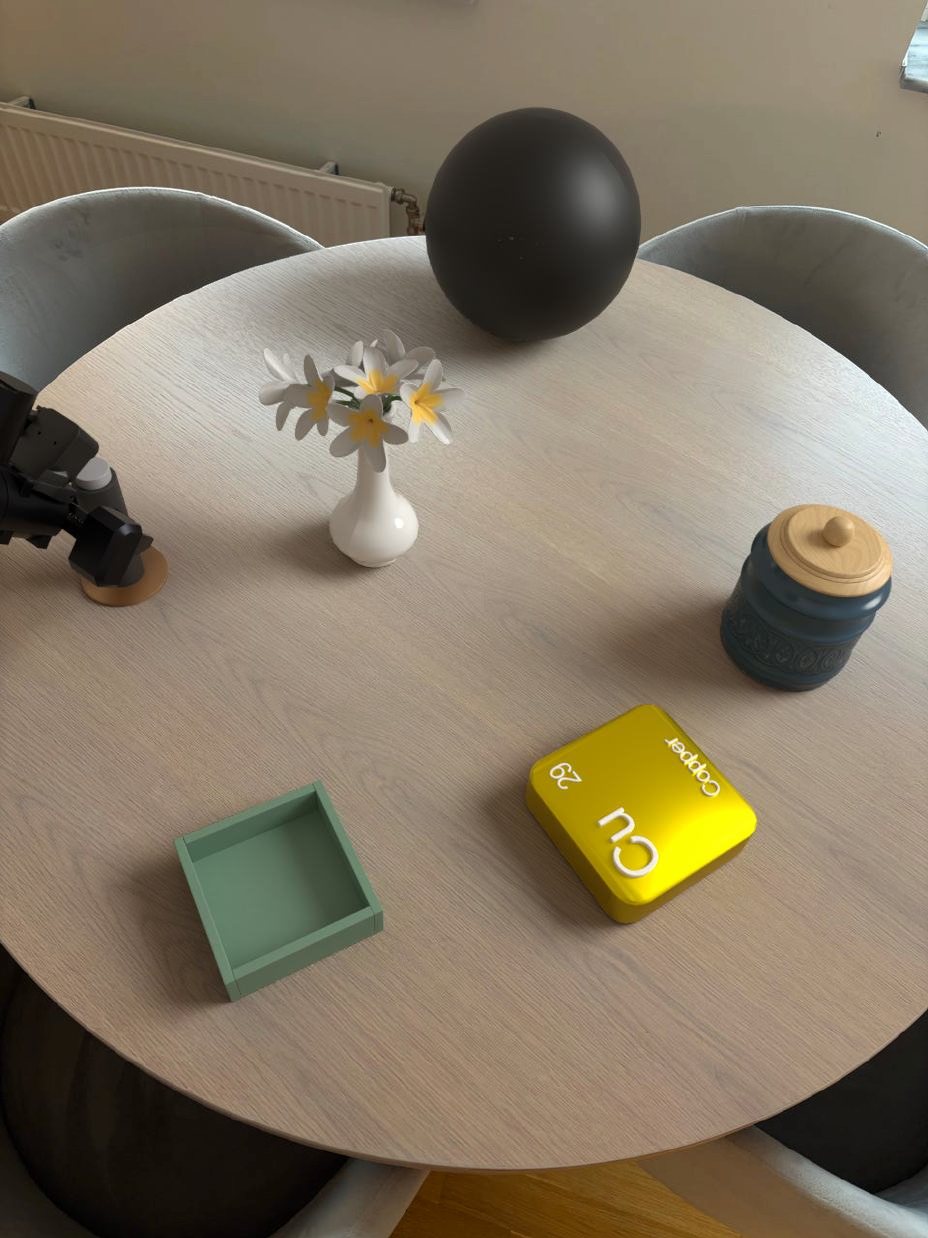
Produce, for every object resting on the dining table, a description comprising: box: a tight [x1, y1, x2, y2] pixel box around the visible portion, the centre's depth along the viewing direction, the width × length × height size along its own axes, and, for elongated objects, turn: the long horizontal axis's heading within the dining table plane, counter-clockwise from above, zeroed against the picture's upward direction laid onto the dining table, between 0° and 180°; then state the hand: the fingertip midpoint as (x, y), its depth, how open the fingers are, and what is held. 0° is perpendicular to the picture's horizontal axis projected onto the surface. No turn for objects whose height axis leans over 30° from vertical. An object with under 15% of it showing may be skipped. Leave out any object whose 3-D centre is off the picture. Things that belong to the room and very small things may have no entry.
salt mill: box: [70, 456, 145, 587], centre depth 91 cm, size 4×4×14 cm
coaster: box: [80, 545, 169, 608], centre depth 97 cm, size 8×8×1 cm
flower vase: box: [257, 328, 467, 569], centre depth 92 cm, size 13×18×25 cm
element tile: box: [524, 703, 758, 925], centre depth 82 cm, size 15×15×5 cm
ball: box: [424, 106, 642, 342], centre depth 119 cm, size 27×27×27 cm
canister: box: [719, 503, 894, 692], centre depth 90 cm, size 13×13×18 cm
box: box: [172, 779, 384, 1003], centre depth 76 cm, size 13×13×4 cm
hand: (118, 520), depth 92 cm, fingers open, 9 cm apart
